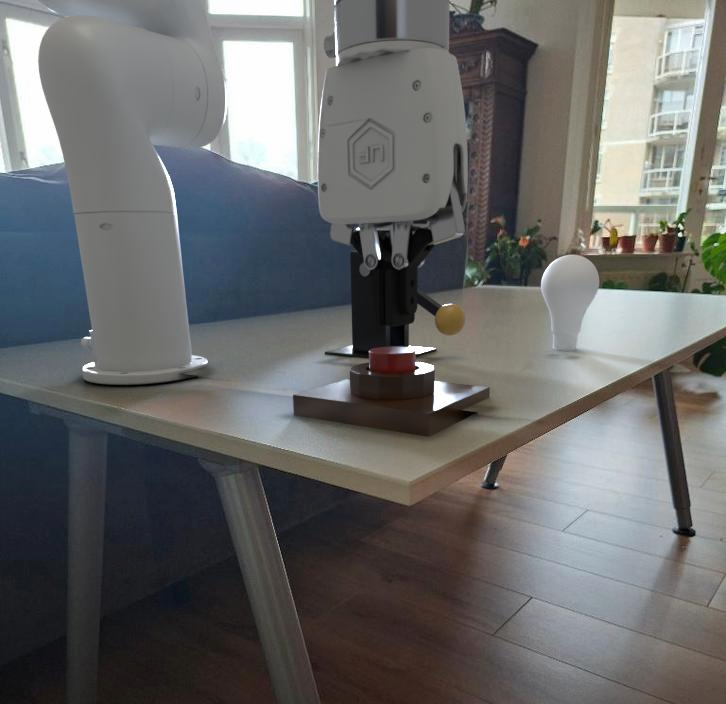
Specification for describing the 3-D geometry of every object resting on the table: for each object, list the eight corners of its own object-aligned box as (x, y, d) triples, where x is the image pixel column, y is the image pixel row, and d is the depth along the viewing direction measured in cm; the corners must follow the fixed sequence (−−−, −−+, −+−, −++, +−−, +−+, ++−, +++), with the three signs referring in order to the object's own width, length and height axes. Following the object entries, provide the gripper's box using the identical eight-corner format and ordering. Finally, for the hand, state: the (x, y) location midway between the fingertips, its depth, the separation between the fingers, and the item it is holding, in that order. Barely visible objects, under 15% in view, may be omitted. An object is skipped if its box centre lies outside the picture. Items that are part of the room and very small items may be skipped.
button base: (293, 416, 52) (291, 371, 51) (365, 392, 60) (364, 353, 59) (428, 437, 46) (429, 387, 44) (489, 408, 53) (491, 364, 52)
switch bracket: (436, 358, 76) (438, 249, 72) (400, 370, 70) (400, 251, 66) (364, 352, 81) (362, 250, 77) (324, 362, 75) (320, 251, 71)
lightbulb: (549, 350, 80) (557, 254, 76) (600, 355, 76) (610, 253, 72) (526, 357, 75) (533, 255, 72) (578, 363, 72) (588, 255, 68)
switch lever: (461, 339, 71) (476, 313, 69) (447, 343, 69) (462, 316, 67) (372, 273, 75) (384, 247, 73) (356, 275, 72) (368, 248, 70)
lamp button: (360, 374, 51) (359, 351, 51) (385, 367, 54) (385, 345, 53) (400, 378, 49) (400, 355, 49) (424, 371, 52) (424, 348, 51)
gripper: (269, 49, 45) (286, 326, 51) (470, 0, 37) (462, 335, 43) (335, 70, 51) (343, 316, 57) (521, 32, 43) (508, 323, 49)
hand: (395, 323), depth 50 cm, fingers closed
